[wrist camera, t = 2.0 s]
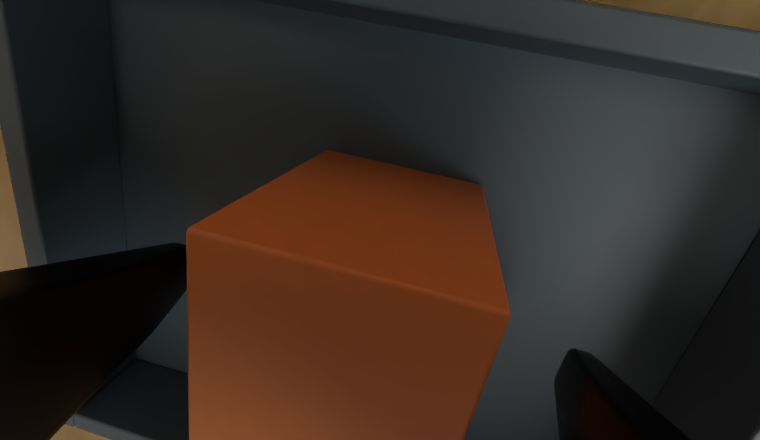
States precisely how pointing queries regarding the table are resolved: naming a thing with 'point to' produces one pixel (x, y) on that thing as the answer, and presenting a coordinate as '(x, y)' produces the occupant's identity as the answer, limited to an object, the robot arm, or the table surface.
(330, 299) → the block
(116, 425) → the grey tray
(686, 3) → the table surface
